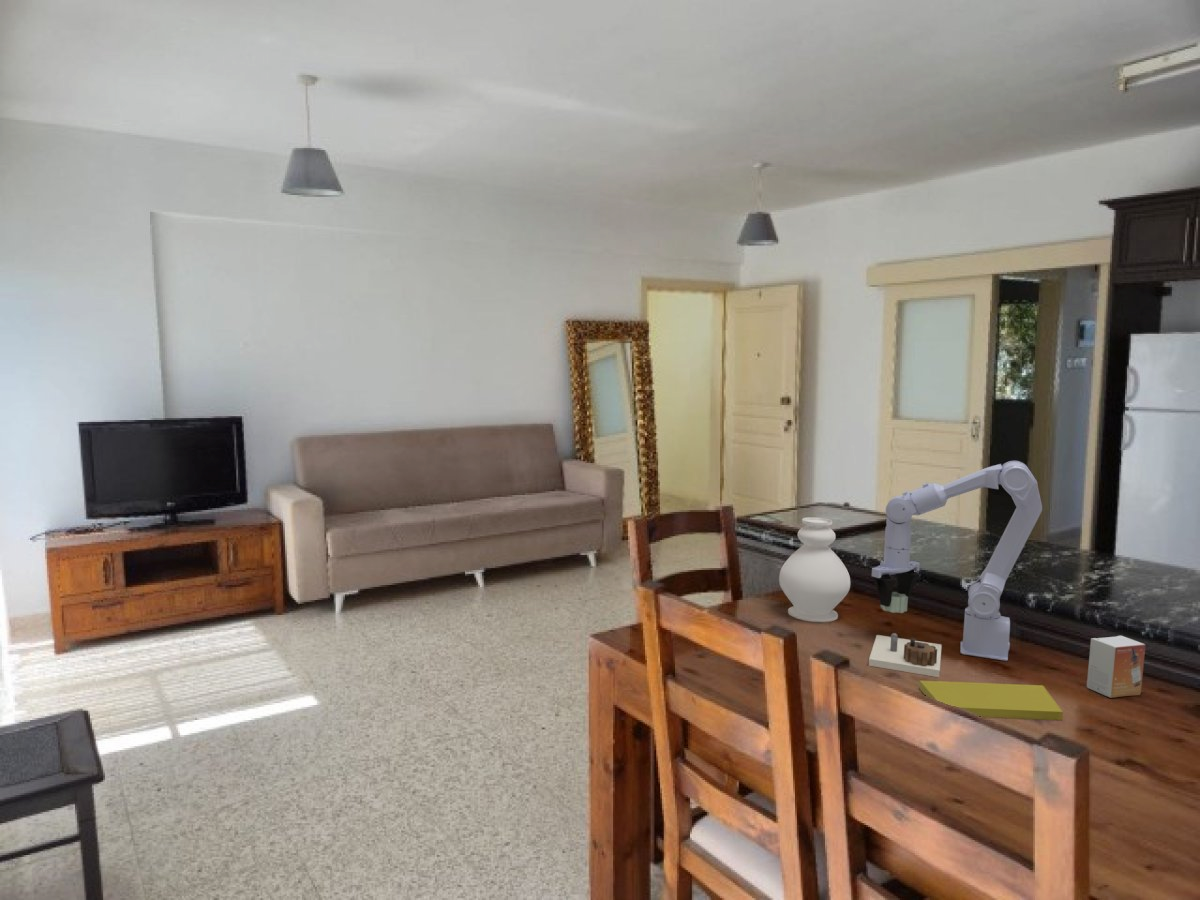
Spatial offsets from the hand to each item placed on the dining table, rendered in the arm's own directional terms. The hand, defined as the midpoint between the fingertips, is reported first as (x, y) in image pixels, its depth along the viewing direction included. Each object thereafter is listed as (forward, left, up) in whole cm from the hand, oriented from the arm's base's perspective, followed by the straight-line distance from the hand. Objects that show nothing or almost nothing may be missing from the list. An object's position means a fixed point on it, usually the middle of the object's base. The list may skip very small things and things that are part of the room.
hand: (894, 603), depth 184 cm
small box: (-43, +12, -9) cm, 45 cm away
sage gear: (0, 0, -1) cm, 1 cm away
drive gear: (-7, +17, -7) cm, 19 cm away
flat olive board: (-21, +30, -9) cm, 37 cm away
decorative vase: (+20, -10, -9) cm, 24 cm away
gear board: (-4, +12, -9) cm, 15 cm away
